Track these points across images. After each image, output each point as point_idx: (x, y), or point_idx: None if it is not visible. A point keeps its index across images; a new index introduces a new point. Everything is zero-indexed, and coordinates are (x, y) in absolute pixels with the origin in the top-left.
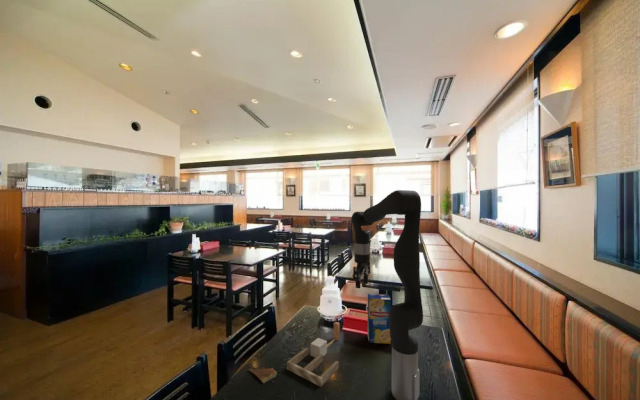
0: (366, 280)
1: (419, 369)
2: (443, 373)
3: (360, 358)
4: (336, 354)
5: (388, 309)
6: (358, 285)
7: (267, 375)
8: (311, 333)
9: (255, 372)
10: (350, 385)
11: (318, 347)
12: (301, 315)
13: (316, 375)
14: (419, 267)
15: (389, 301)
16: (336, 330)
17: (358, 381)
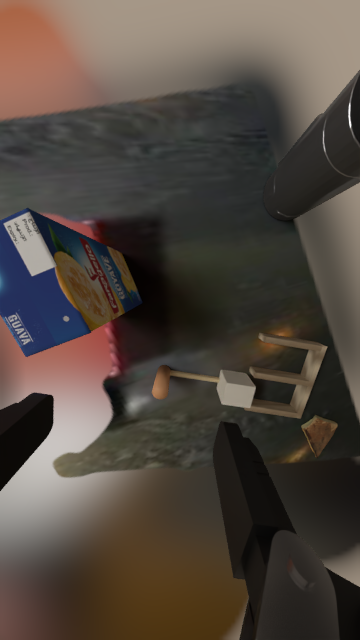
0: (19, 430)
1: (320, 114)
2: (185, 108)
3: (210, 303)
4: (217, 351)
5: (73, 239)
6: (259, 461)
7: (327, 426)
8: (168, 422)
9: (324, 444)
10: (296, 297)
11: (254, 388)
12: (109, 470)
13: (320, 357)
14: None
15: (42, 222)
16: (168, 381)
17: (280, 287)
